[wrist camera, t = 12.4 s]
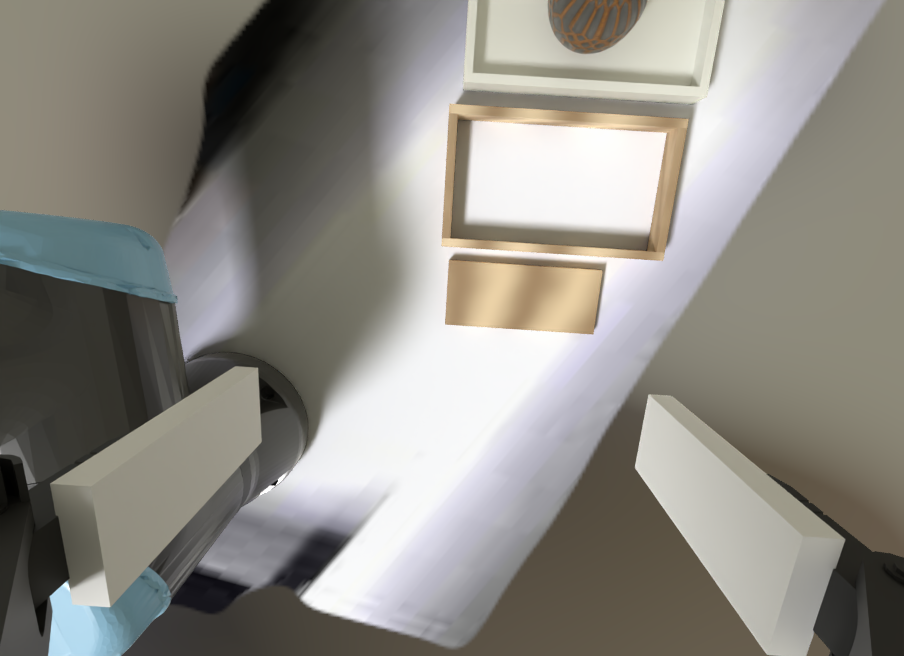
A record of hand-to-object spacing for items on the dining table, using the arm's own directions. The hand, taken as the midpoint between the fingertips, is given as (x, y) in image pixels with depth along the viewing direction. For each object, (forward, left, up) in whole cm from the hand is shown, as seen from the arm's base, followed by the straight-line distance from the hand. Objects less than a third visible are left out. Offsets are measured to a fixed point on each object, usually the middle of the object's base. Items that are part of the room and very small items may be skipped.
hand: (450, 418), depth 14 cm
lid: (+6, 0, -27) cm, 27 cm away
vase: (+9, +23, -26) cm, 36 cm away
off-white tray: (+9, +23, -27) cm, 36 cm away
